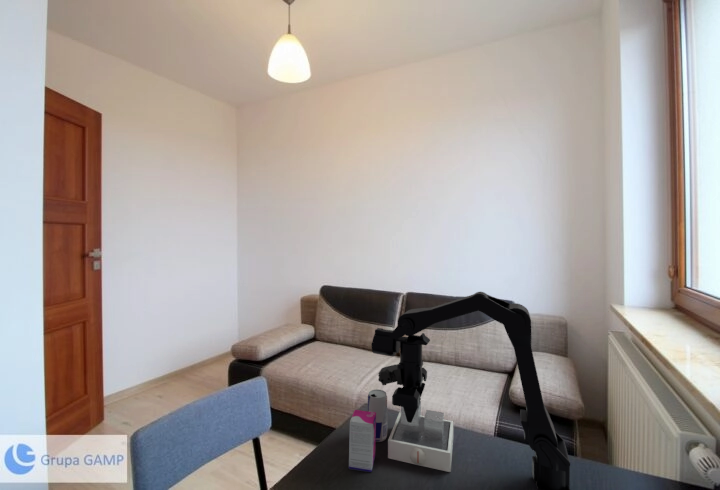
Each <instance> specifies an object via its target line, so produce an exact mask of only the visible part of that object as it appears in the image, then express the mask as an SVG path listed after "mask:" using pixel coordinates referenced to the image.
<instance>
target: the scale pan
mask: <svg viewBox="0 0 720 490" xmlns="http://www.w3.org/2000/svg"><path fill="white" fill-rule="evenodd" d="M448 435H449V423H448V422H444V431H443V439H442V440H441V439H436V438H431V437H426V436H424V418H421V419H420V423H419V426H418V427H415V426H410V425H404V424H401V419H400V422H399V425H398V427H397V430H396V432H395V435H394V438H393V440H397V441H402V442H407V443H412V444H417V445H422V446H427V447H431V448H436V449H441V450H446V451H447V444H448Z"/></svg>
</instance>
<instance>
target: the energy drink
mask: <svg viewBox="0 0 720 490" xmlns="http://www.w3.org/2000/svg"><path fill="white" fill-rule="evenodd" d="M367 411H369V412H376V443H382V442H385V440H387V438H388V396H387V392H386V391H385V390H383V389H372V390H370V391H368V395H367Z"/></svg>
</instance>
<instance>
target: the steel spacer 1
mask: <svg viewBox="0 0 720 490" xmlns="http://www.w3.org/2000/svg"><path fill="white" fill-rule="evenodd" d="M400 412H401V424H404V425H410V426H415V427H418V426H419V423H420V419H421V416H422V401H421V400H420V403H419V406H418V408H417V410H416V413H415V415H414V418H413V420H412V422H411V423H410V422H407V419H406V415H405V412H404V408H403V407H401V406H400Z"/></svg>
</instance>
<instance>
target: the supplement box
mask: <svg viewBox="0 0 720 490" xmlns="http://www.w3.org/2000/svg"><path fill="white" fill-rule="evenodd" d="M348 436H349V437H348V439H349V443H348V444H349V445H348V448H349V449H348V451H349V452H348V469H349V470H353V471H361V472H365V473H367V472H368V473H372V471H373V467H374V463H375V458H376V443H377V442H376V412H369V411H368V410H361V409H354V411H353V412H352V415H351V418H350V421H349V435H348Z"/></svg>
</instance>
